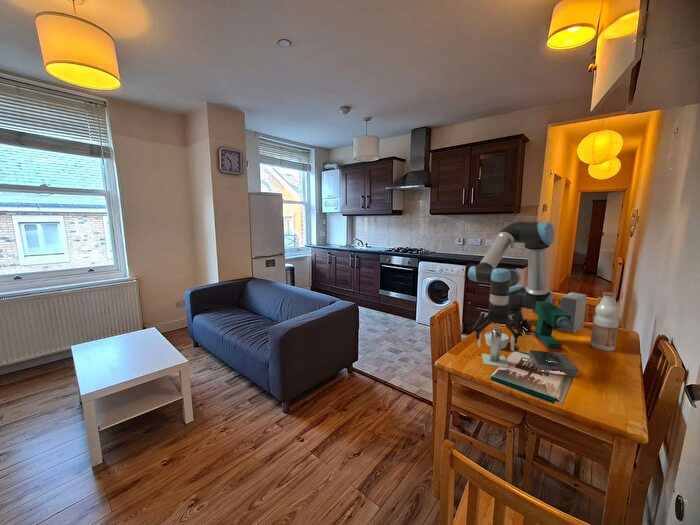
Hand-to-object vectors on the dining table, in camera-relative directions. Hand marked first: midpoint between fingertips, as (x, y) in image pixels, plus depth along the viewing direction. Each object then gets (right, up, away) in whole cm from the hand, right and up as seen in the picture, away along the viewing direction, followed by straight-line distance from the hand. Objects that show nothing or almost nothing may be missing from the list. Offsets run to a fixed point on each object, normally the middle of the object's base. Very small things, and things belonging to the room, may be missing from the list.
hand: (495, 347), depth 133 cm
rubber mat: (0, -6, +1) cm, 6 cm away
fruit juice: (+60, -4, +13) cm, 62 cm away
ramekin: (+9, -4, +17) cm, 19 cm away
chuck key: (0, -6, +1) cm, 6 cm away
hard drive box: (+62, 0, +36) cm, 72 cm away
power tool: (+34, -4, +11) cm, 36 cm away
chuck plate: (+22, -7, -4) cm, 24 cm away
